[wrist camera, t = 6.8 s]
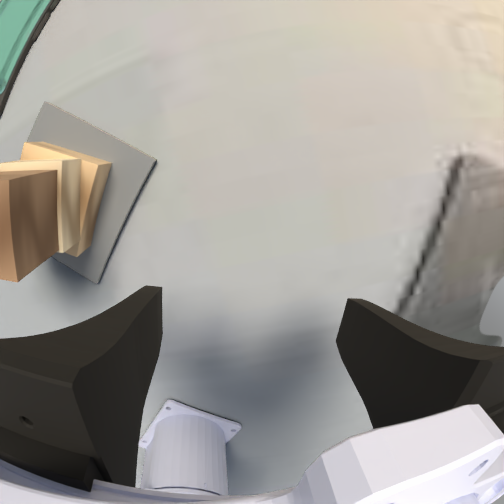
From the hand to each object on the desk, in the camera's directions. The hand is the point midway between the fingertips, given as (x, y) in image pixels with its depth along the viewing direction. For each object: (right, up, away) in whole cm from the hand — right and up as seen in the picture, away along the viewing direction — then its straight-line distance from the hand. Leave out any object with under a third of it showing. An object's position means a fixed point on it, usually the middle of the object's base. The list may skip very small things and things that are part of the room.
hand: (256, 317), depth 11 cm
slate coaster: (-13, +7, +7) cm, 17 cm away
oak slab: (-13, +7, +7) cm, 16 cm away
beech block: (-13, +6, +4) cm, 15 cm away
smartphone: (-20, +21, +2) cm, 29 cm away
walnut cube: (-13, +5, +2) cm, 14 cm away
